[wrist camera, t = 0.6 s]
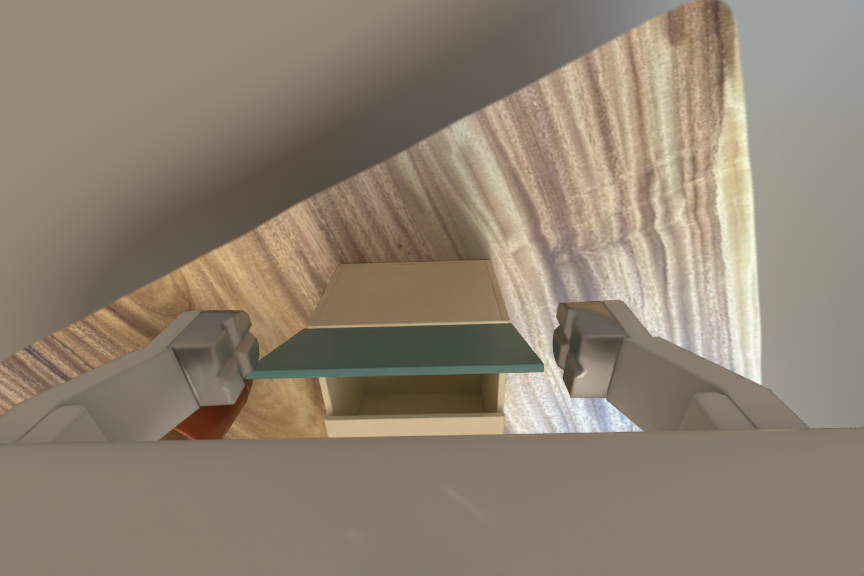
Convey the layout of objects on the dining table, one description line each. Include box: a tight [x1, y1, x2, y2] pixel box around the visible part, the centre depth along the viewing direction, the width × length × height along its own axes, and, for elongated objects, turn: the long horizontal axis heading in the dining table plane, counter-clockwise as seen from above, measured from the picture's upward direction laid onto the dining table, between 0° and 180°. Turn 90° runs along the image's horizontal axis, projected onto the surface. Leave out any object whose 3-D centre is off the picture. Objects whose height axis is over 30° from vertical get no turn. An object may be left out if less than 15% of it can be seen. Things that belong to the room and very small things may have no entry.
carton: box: [307, 260, 510, 438], centre depth 32 cm, size 15×13×10 cm
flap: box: [245, 323, 544, 379], centre depth 20 cm, size 7×13×1 cm
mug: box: [158, 378, 252, 441], centre depth 35 cm, size 12×9×10 cm
